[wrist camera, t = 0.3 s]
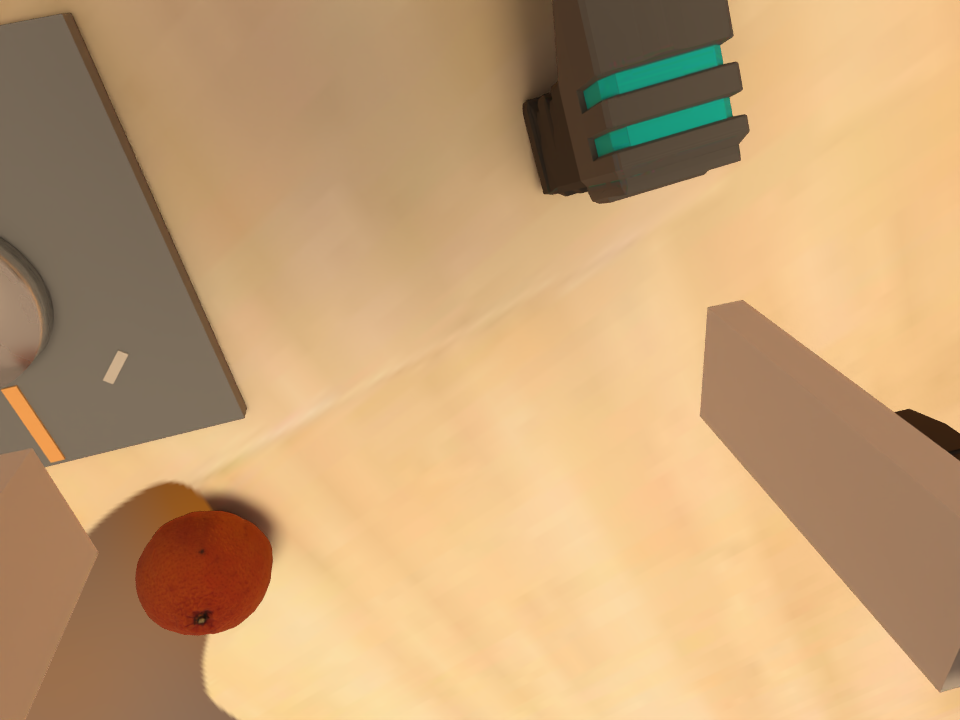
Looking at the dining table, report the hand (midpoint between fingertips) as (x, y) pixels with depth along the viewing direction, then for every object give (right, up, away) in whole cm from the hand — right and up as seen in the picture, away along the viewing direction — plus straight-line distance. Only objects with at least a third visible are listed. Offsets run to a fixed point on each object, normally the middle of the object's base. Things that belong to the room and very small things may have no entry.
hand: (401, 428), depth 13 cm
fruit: (-19, -12, +35) cm, 42 cm away
